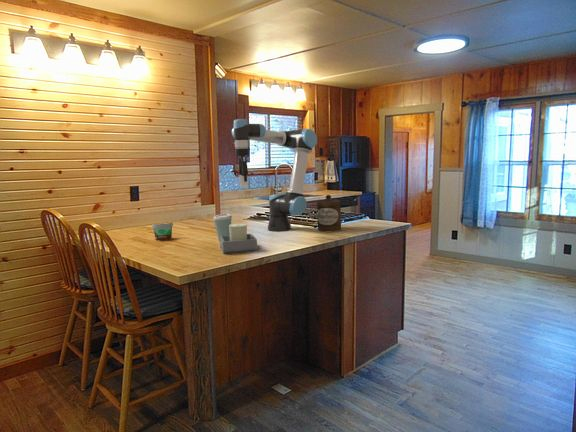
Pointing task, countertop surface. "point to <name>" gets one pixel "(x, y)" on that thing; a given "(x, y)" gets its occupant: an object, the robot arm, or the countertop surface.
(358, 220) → the countertop surface
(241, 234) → the can
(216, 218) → the disposable coffee cup
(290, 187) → the robot arm
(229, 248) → the tub
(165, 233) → the food container
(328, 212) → the wooden container
